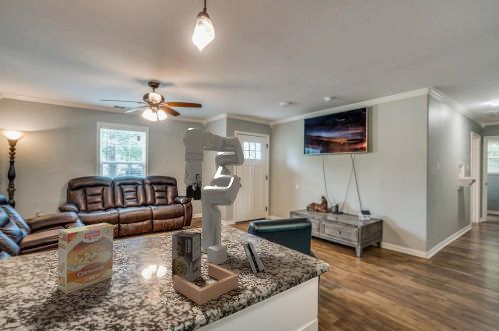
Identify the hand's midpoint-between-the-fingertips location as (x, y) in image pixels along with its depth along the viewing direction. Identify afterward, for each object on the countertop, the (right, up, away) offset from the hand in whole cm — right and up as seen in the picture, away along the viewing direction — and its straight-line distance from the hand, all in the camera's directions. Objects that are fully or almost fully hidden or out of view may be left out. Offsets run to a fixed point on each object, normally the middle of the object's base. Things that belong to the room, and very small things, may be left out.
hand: (193, 198), depth 103 cm
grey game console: (+25, -28, +1) cm, 38 cm away
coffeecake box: (-34, -27, -17) cm, 47 cm away
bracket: (+9, -28, -19) cm, 35 cm away
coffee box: (0, -28, -11) cm, 30 cm away
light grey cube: (+9, -28, +5) cm, 30 cm away
